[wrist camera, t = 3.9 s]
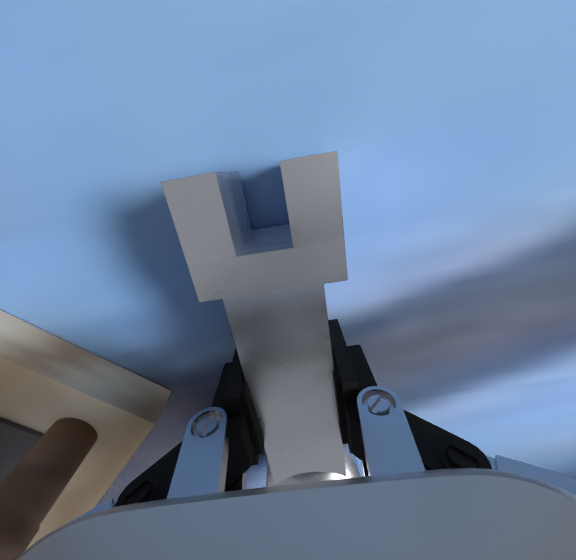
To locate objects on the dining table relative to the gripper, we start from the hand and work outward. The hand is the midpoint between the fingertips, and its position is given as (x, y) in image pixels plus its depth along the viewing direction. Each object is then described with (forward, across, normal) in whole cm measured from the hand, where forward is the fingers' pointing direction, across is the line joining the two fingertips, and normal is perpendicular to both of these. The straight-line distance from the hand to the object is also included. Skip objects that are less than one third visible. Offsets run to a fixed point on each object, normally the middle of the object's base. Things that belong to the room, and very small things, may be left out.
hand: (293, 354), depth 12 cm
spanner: (+1, 0, 0) cm, 1 cm away
